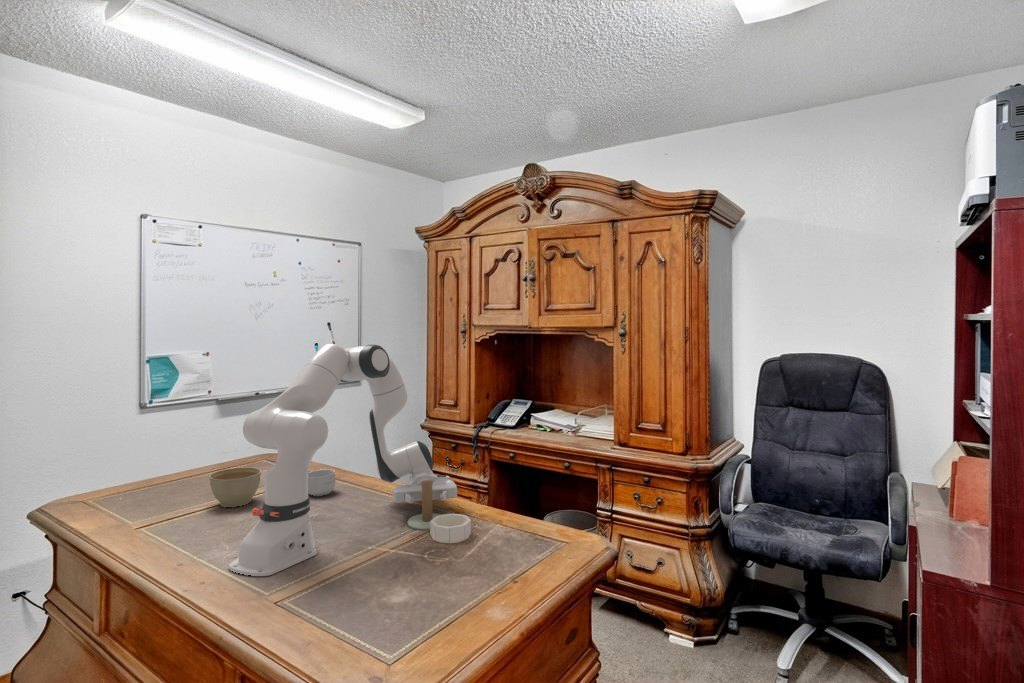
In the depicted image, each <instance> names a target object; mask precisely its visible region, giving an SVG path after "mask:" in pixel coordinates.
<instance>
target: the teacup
mask: <svg viewBox="0 0 1024 683" xmlns="http://www.w3.org/2000/svg"><path fill="white" fill-rule="evenodd" d="M335 487H336V470H335V469H332V468H329V469H328V468H321V469H316V470H312V471H308V495H310V496H312V495H313V497H323V495H324V496H327V495H329V494H330V493H332V491H333V490H334V489H335Z"/></svg>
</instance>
